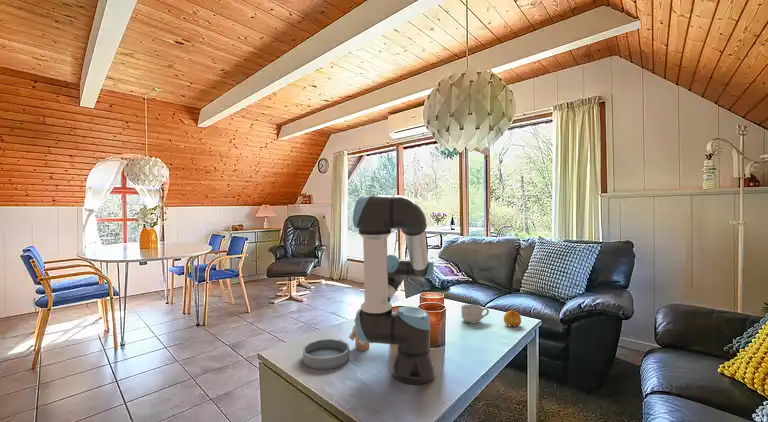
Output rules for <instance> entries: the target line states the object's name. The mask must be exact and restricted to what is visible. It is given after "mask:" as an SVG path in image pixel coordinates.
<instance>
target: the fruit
mask: <svg viewBox="0 0 768 422" xmlns="http://www.w3.org/2000/svg"><path fill="white" fill-rule="evenodd" d="M503 321H504V324H505V325H506V324H507V326H508V325H510V326H516V327H518V325H519V326H520V325H521V323H522V318H521V315H520V313H518V312H516V310H514V309H511V310H509V311H506V313H504V316H503ZM510 326H509V327H510Z"/></svg>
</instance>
